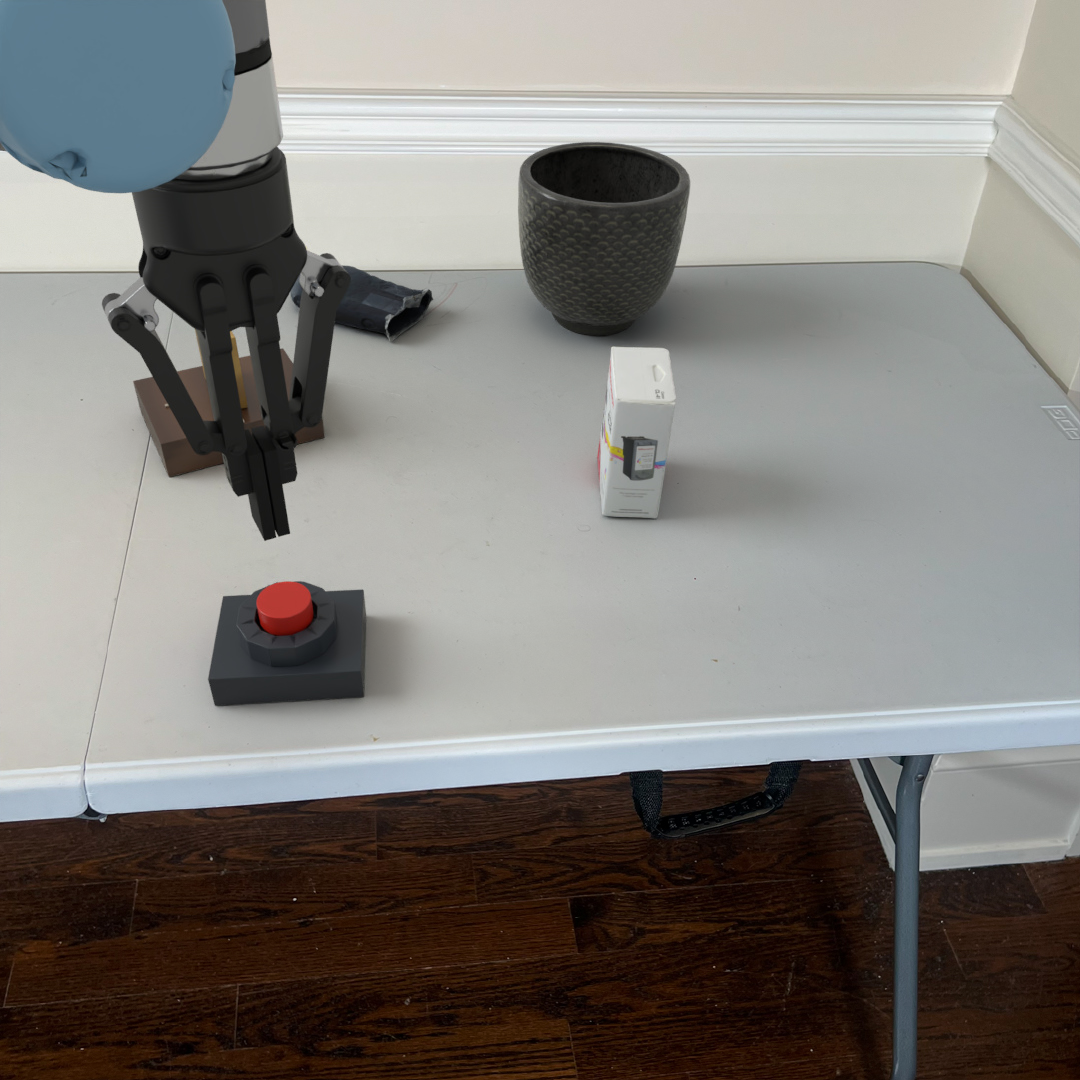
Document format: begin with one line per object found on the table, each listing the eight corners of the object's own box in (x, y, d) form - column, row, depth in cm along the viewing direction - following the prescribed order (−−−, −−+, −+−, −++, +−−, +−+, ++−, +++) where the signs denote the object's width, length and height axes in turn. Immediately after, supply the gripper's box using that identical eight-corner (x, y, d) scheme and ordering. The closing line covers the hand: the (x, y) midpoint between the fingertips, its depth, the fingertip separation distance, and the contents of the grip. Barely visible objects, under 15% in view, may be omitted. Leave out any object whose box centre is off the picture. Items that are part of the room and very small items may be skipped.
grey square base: (214, 706, 70) (202, 660, 67) (228, 622, 76) (218, 577, 73) (364, 697, 71) (358, 652, 68) (366, 615, 77) (361, 570, 74)
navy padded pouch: (437, 319, 114) (326, 269, 118) (437, 278, 110) (323, 227, 113) (388, 365, 109) (274, 311, 112) (387, 324, 104) (268, 269, 108)
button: (257, 637, 69) (253, 619, 68) (262, 600, 72) (259, 582, 71) (312, 635, 69) (309, 616, 68) (315, 598, 72) (312, 579, 71)
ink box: (596, 458, 93) (607, 342, 85) (652, 460, 93) (667, 344, 85) (600, 519, 86) (612, 400, 79) (660, 521, 86) (678, 402, 79)
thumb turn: (248, 407, 91) (235, 334, 86) (223, 413, 90) (208, 340, 85) (228, 372, 95) (215, 300, 90) (204, 377, 94) (189, 305, 90)
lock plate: (168, 477, 89) (160, 442, 86) (141, 413, 96) (132, 379, 94) (325, 437, 94) (321, 403, 92) (287, 379, 101) (282, 346, 99)
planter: (531, 362, 105) (537, 210, 95) (502, 284, 118) (504, 143, 108) (692, 350, 108) (715, 202, 98) (647, 276, 121) (663, 138, 111)
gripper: (311, 109, 55) (349, 466, 70) (48, 143, 50) (151, 519, 65) (362, 157, 50) (390, 530, 65) (75, 200, 45) (179, 593, 60)
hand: (270, 524), depth 65 cm, fingers closed
